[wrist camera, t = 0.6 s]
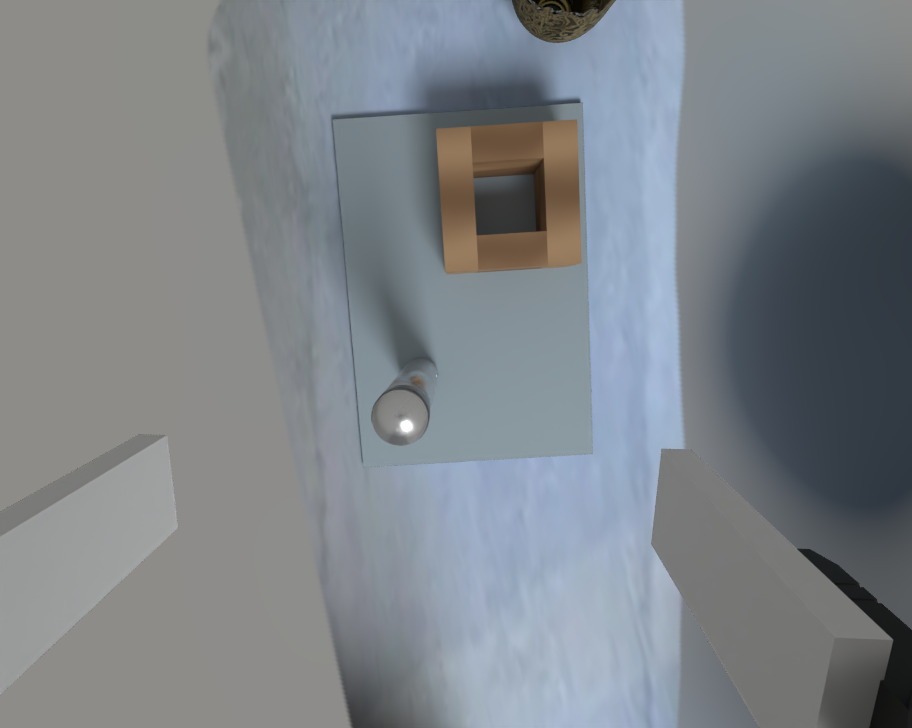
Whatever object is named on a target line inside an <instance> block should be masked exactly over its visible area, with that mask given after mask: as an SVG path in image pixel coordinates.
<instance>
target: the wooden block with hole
mask: <svg viewBox="0 0 912 728" xmlns="http://www.w3.org/2000/svg"><path fill="white" fill-rule="evenodd" d="M436 136H437V152H438V168H439V183H440V199H441V215H442V230H443V246H444V261H445V272H446V274H447V275H448V274H464V273H480V272H496V271H512V270H527V269H543V268H559V267H569V266H573V265H576V264H580V263H582V260H581V227H580V194H579V161H578V128H577V119H575V120H560V121H545V122H530V123H515V124H501V125H486V126H471V127H456V128H441V129H436ZM530 174H534V189H535V213H536V232H523V233H508V234H492V235H476V217H475V199H474V181H473V178H484V177H499V176H515V175H530Z"/></svg>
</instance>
